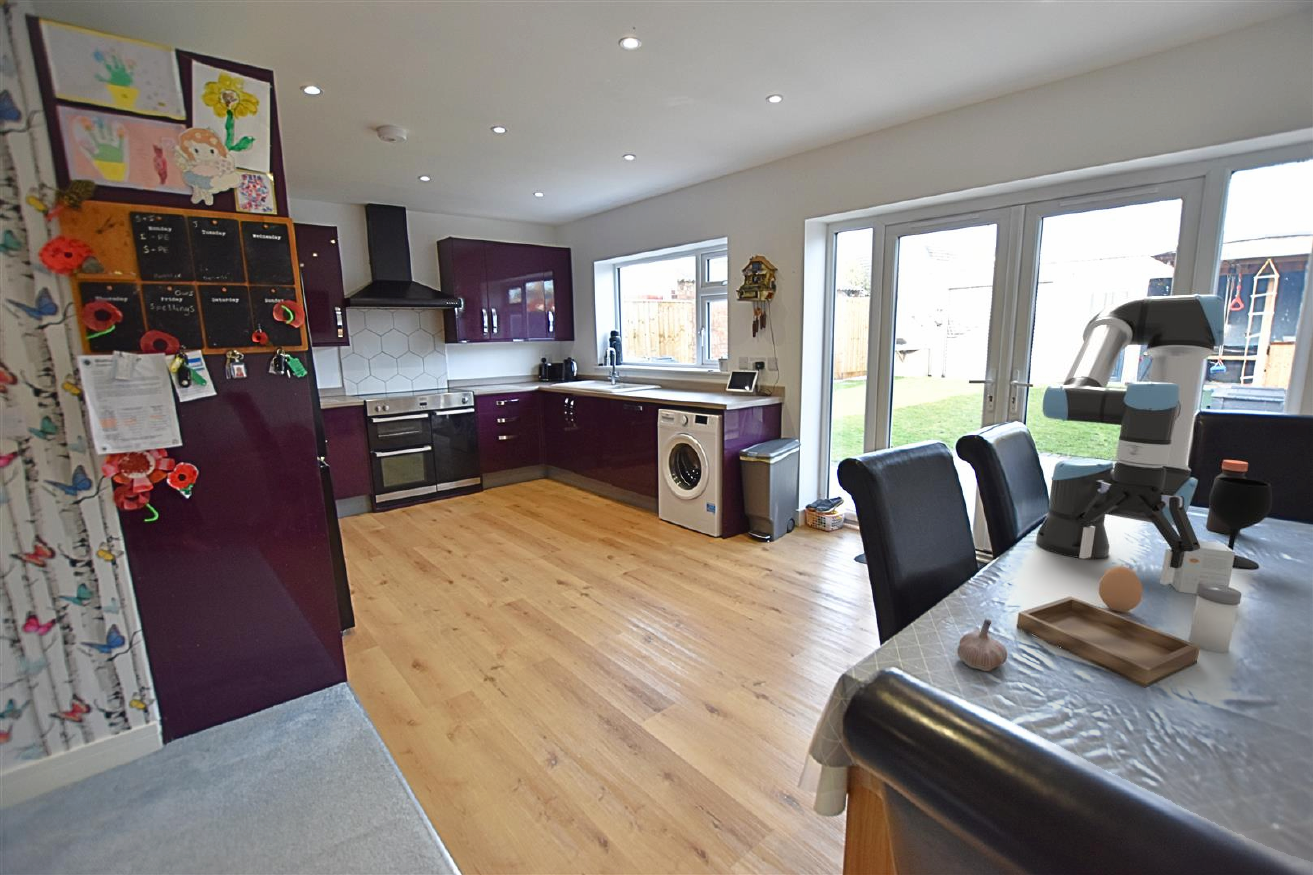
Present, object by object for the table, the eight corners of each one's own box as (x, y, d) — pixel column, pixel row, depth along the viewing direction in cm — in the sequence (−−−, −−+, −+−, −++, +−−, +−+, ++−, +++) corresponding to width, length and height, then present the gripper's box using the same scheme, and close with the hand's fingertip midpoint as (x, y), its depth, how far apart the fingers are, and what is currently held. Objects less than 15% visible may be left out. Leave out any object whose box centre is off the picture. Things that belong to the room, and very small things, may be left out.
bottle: (1199, 526, 161) (1211, 458, 157) (1225, 527, 160) (1238, 459, 156) (1218, 534, 154) (1232, 464, 151) (1246, 535, 153) (1260, 464, 150)
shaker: (1181, 640, 100) (1191, 585, 98) (1196, 634, 102) (1206, 580, 100) (1221, 656, 95) (1232, 598, 93) (1236, 649, 97) (1247, 592, 95)
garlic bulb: (998, 654, 96) (1003, 611, 94) (1015, 679, 89) (1021, 633, 87) (950, 649, 97) (954, 606, 96) (963, 673, 90) (968, 627, 89)
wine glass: (1211, 565, 133) (1227, 484, 130) (1190, 550, 143) (1204, 474, 139) (1269, 572, 129) (1287, 489, 126) (1243, 556, 139) (1259, 478, 135)
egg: (1147, 616, 108) (1155, 572, 107) (1118, 619, 107) (1126, 575, 106) (1115, 601, 115) (1121, 559, 113) (1087, 603, 114) (1093, 561, 112)
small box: (1214, 588, 121) (1223, 542, 119) (1227, 599, 116) (1236, 551, 114) (1166, 581, 124) (1174, 536, 122) (1177, 592, 119) (1185, 545, 117)
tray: (1016, 627, 104) (1018, 612, 104) (1068, 610, 111) (1070, 596, 110) (1144, 687, 87) (1147, 669, 86) (1197, 662, 93) (1200, 646, 93)
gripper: (1058, 452, 115) (1045, 550, 119) (1217, 479, 93) (1195, 598, 97) (1080, 450, 119) (1066, 545, 122) (1238, 476, 96) (1216, 591, 100)
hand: (1123, 569), depth 109 cm, fingers open, 13 cm apart
